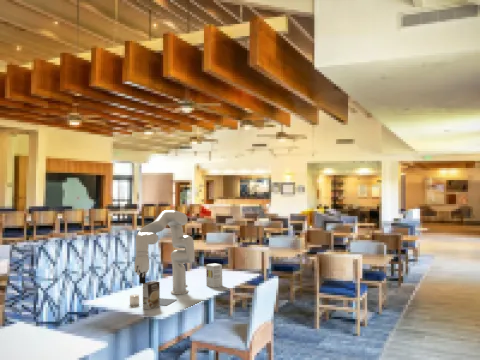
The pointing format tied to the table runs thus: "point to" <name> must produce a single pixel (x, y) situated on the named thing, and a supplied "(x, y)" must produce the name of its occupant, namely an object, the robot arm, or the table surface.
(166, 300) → the slate mat
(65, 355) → the table surface
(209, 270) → the supplement box
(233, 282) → the table surface
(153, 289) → the coffee box
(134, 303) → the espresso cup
